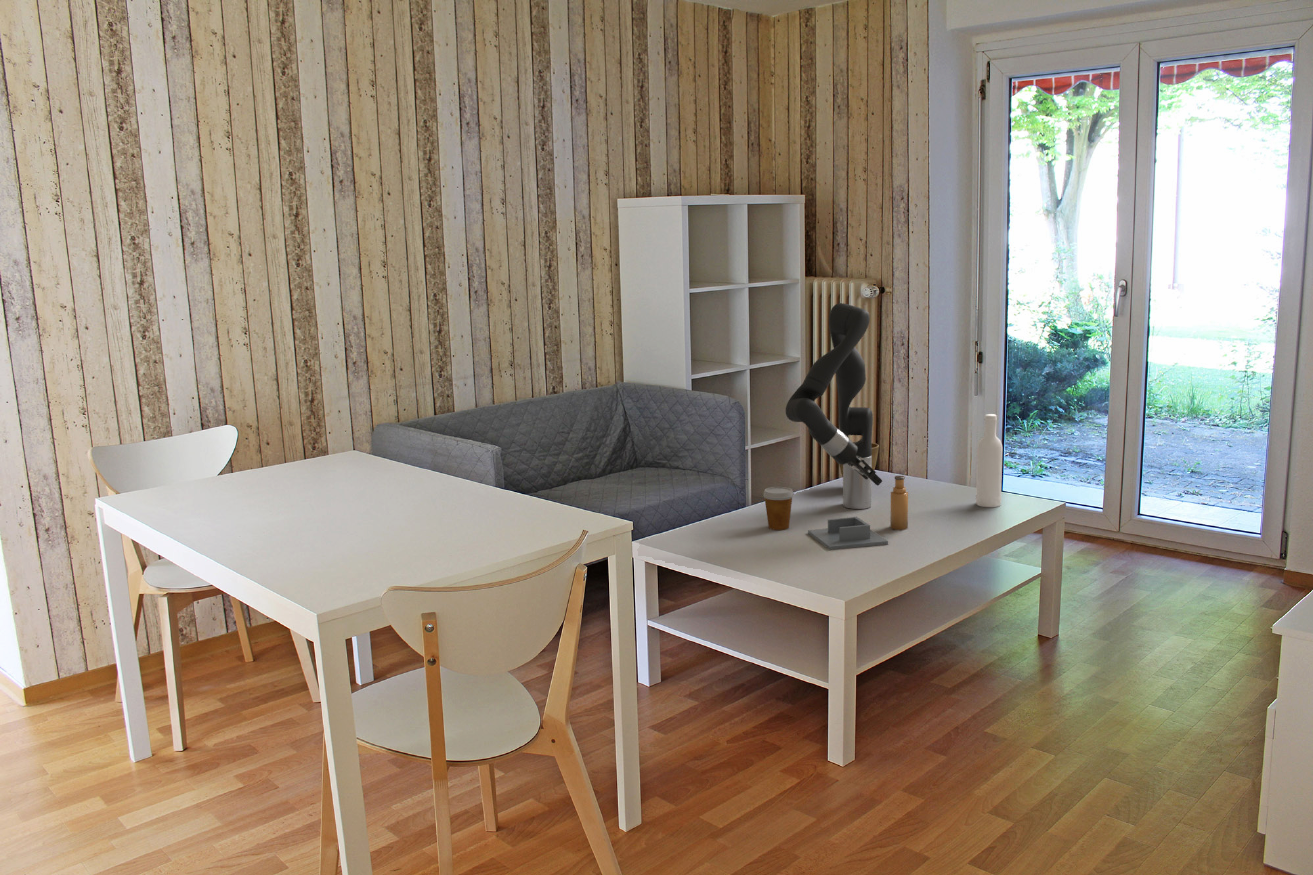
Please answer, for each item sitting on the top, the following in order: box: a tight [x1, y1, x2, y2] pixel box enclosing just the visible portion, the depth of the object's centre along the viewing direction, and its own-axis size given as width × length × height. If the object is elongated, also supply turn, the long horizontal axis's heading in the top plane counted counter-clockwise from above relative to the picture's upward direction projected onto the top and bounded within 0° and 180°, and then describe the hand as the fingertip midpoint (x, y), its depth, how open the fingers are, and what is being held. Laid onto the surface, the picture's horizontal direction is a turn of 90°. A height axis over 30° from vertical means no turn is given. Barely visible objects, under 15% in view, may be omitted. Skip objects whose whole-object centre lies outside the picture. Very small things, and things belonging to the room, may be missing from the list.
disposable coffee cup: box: [762, 486, 795, 531], centre depth 317 cm, size 10×10×12 cm
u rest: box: [807, 516, 889, 551], centre depth 304 cm, size 18×18×5 cm
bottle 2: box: [975, 413, 1004, 508], centre depth 334 cm, size 8×8×30 cm
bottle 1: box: [889, 475, 909, 531], centre depth 313 cm, size 5×5×16 cm
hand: (874, 480), depth 309 cm, fingers open, 8 cm apart
